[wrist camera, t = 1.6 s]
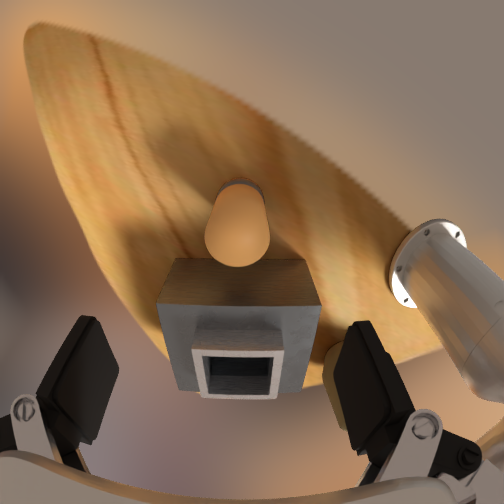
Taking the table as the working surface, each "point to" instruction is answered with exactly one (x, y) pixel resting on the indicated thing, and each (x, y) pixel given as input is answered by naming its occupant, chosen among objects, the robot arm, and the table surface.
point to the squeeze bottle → (330, 384)
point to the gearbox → (239, 326)
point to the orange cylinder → (238, 224)
